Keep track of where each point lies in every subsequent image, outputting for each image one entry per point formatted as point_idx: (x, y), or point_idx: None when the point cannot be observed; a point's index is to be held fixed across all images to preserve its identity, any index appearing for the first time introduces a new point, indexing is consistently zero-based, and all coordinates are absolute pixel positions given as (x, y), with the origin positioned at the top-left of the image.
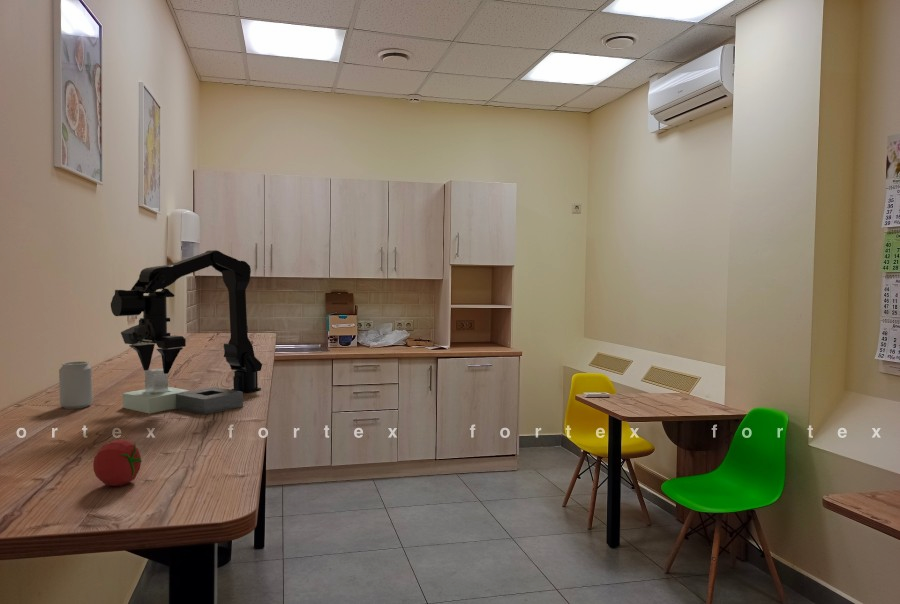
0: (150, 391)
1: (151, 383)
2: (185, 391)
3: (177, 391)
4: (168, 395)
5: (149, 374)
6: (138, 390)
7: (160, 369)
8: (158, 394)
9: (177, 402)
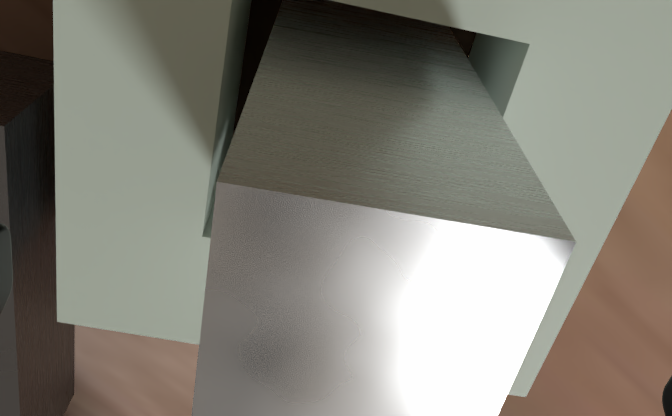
0: (362, 58)
1: (332, 95)
2: (58, 275)
3: (141, 247)
4: (57, 61)
5: (396, 174)
6: (652, 126)
7: (328, 406)
8: (185, 24)
9: (18, 84)
